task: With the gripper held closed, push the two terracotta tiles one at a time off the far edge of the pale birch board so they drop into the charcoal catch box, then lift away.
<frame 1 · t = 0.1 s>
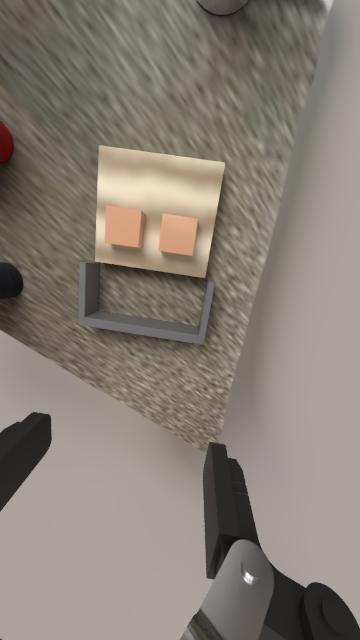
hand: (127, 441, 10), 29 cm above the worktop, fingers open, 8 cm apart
catch box: (149, 299, 38), on the worktop
birch board: (158, 219, 35), on the worktop
wine bottle: (7, 280, 39), on the worktop
terracotta tile 1: (127, 229, 33), point 3 cm above the worktop, touching birch board
terracotta tile 2: (179, 237, 32), point 3 cm above the worktop, touching birch board
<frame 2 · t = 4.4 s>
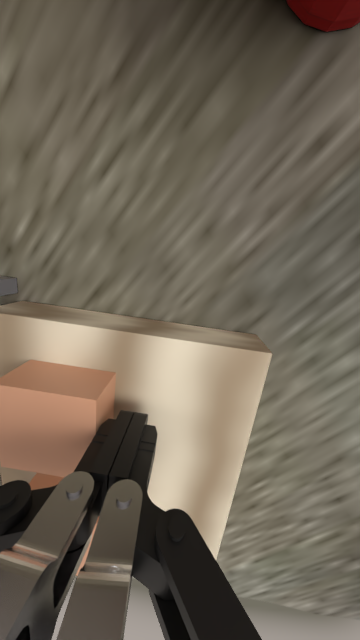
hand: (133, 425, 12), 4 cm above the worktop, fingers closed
birch board: (128, 426, 17), on the worktop
terracotta tile 1: (73, 403, 13), point 3 cm above the worktop, touching gripper
terracotta tile 2: (77, 499, 15), point 3 cm above the worktop, touching birch board
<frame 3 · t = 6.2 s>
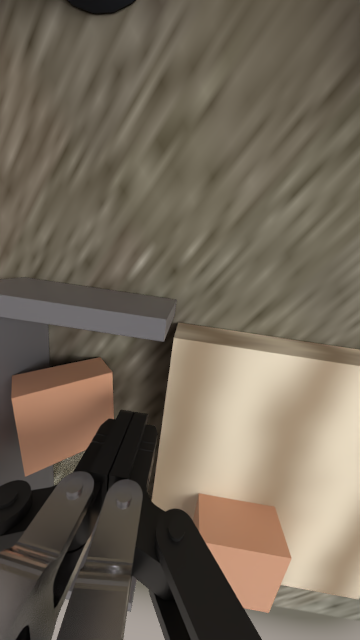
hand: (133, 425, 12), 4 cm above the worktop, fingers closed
catch box: (95, 420, 17), on the worktop
birch board: (265, 449, 16), on the worktop
terracotta tile 1: (71, 421, 12), point 4 cm above the worktop, tilted 139°, touching catch box
terracotta tile 2: (229, 526, 14), point 3 cm above the worktop, touching birch board
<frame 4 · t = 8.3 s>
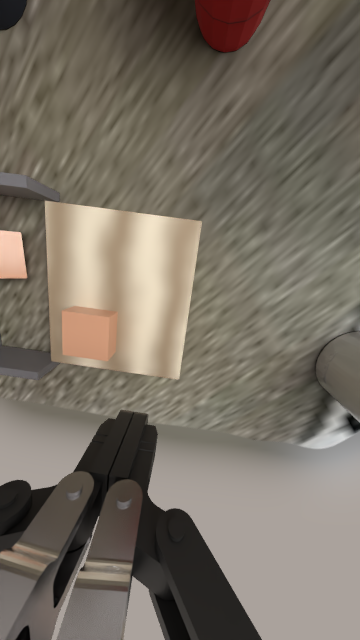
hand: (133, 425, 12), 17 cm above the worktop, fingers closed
catch box: (21, 280, 27), on the worktop
plastic cup: (231, 15, 19), on the worktop
birch board: (126, 294, 27), on the worktop
terracotta tile 2: (95, 329, 25), point 3 cm above the worktop, touching birch board
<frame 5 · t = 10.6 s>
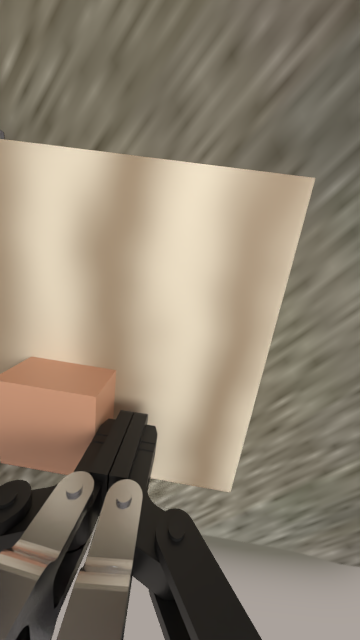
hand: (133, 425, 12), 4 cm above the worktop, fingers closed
birch board: (133, 329, 14), on the worktop
terracotta tile 2: (73, 400, 13), point 3 cm above the worktop, touching birch board, gripper
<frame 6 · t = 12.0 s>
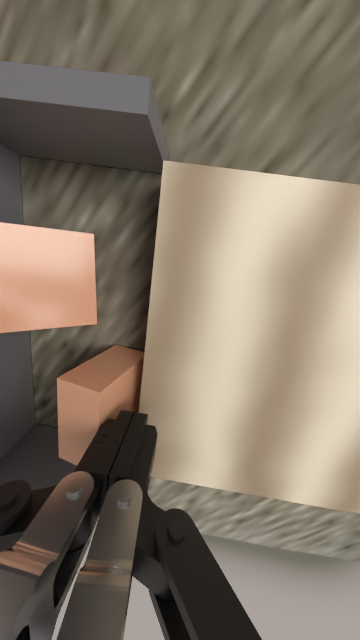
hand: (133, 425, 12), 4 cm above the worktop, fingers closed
catch box: (78, 320, 15), on the worktop
birch board: (271, 350, 14), on the worktop
terracotta tile 1: (42, 280, 11), point 3 cm above the worktop, tilted 143°, touching catch box
terracotta tile 2: (125, 406, 13), point 3 cm above the worktop, tilted 103°
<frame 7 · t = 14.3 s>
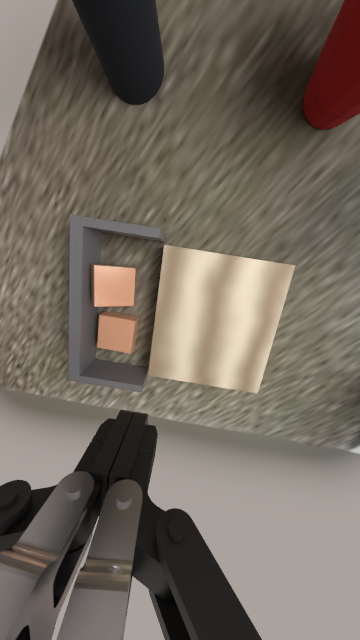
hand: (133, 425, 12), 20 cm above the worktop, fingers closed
catch box: (122, 304, 31), on the worktop
plastic cup: (329, 101, 24), on the worktop
birch board: (212, 319, 31), on the worktop
wine bottle: (136, 71, 24), on the worktop
terracotta tile 1: (115, 287, 27), point 3 cm above the worktop, tilted 147°, touching catch box
terracotta tile 2: (115, 334, 30), point 2 cm above the worktop, tilted 180°
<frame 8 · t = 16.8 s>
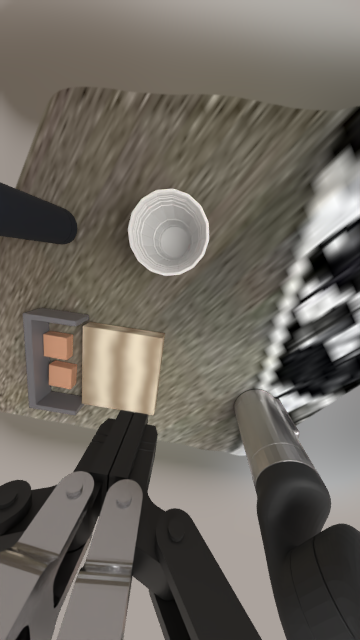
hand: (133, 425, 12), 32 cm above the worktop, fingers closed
catch box: (65, 356, 47), on the worktop
plastic cup: (176, 242, 39), on the worktop
birch board: (124, 366, 47), on the worktop
wine bottle: (61, 226, 40), on the worktop
terracotta tile 1: (55, 347, 44), point 2 cm above the worktop, tilted 180°
terracotta tile 2: (60, 377, 46), point 2 cm above the worktop, tilted 180°
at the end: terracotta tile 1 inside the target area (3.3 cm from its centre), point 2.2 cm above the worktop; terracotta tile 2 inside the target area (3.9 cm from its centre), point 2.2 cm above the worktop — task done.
